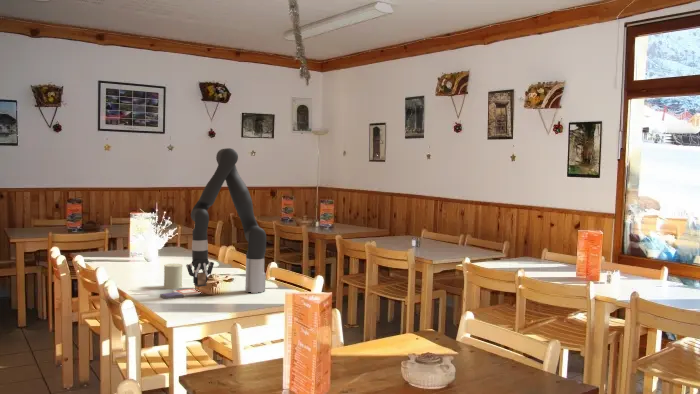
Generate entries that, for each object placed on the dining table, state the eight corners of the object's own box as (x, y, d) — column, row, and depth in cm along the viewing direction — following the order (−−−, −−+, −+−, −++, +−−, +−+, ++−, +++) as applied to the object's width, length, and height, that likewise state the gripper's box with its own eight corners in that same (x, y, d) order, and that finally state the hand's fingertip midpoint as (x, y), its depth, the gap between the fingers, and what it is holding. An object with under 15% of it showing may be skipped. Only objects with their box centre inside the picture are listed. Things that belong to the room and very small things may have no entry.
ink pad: (178, 294, 301) (178, 291, 301) (183, 297, 295) (183, 294, 295) (160, 296, 295) (160, 293, 295) (165, 299, 290) (165, 296, 290)
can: (163, 289, 312) (163, 265, 311) (163, 285, 321) (164, 262, 320) (182, 288, 314) (182, 265, 314) (182, 285, 323) (182, 262, 322)
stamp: (202, 284, 303) (202, 272, 302) (206, 285, 299) (206, 273, 299) (194, 285, 300) (194, 273, 299) (198, 286, 296) (198, 274, 296)
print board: (193, 289, 313) (193, 288, 313) (202, 293, 305) (202, 291, 305) (172, 291, 306) (172, 290, 306) (180, 295, 298) (181, 294, 298)
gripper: (189, 251, 291) (189, 287, 292) (216, 248, 300) (217, 283, 301) (183, 249, 297) (183, 284, 298) (210, 246, 306) (210, 280, 307)
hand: (200, 283), depth 299 cm, fingers closed on stamp, 4 cm apart
